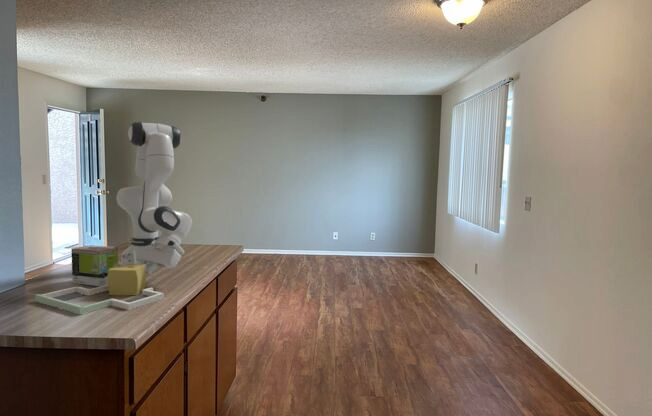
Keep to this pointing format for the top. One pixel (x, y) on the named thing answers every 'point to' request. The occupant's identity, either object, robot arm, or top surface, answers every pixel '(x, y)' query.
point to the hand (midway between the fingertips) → (146, 273)
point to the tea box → (93, 264)
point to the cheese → (126, 279)
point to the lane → (70, 293)
